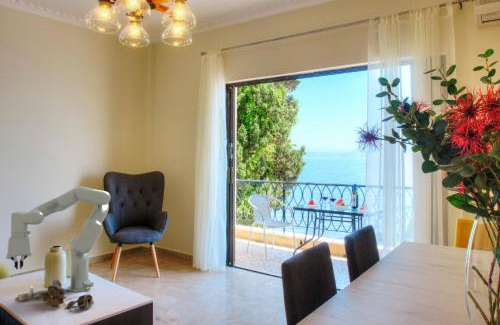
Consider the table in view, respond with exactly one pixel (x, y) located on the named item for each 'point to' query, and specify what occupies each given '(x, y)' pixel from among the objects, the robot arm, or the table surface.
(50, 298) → the wooden carving
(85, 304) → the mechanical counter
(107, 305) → the table surface
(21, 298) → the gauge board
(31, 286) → the plunger
